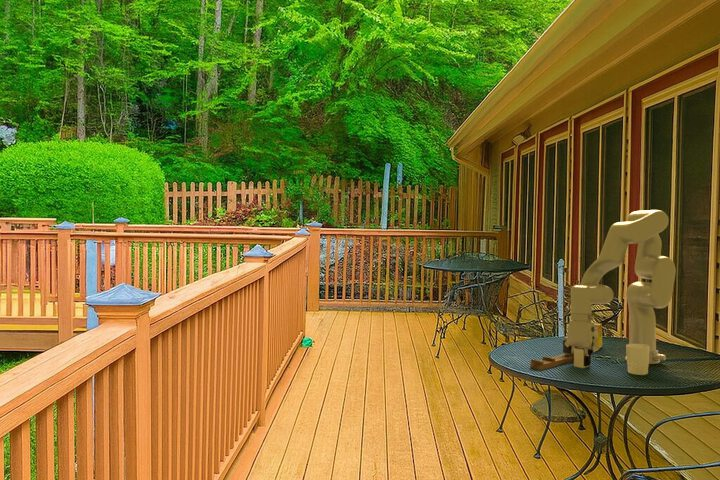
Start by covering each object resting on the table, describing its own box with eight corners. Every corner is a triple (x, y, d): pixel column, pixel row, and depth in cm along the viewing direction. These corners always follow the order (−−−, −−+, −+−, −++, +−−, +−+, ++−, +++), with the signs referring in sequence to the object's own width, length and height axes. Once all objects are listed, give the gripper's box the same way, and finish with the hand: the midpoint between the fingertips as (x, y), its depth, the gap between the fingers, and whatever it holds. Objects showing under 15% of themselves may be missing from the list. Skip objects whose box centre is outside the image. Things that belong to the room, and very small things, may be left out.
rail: (583, 358, 241) (583, 336, 241) (541, 370, 223) (541, 346, 223) (572, 356, 245) (572, 335, 245) (530, 367, 227) (530, 344, 227)
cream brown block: (590, 366, 228) (590, 348, 228) (583, 368, 225) (583, 349, 225) (581, 364, 232) (581, 346, 231) (573, 366, 228) (573, 348, 228)
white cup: (648, 376, 211) (648, 348, 211) (624, 373, 216) (624, 346, 215) (650, 371, 218) (650, 344, 218) (627, 369, 222) (627, 343, 222)
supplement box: (602, 347, 262) (602, 323, 262) (599, 350, 257) (599, 325, 257) (588, 346, 266) (588, 322, 265) (585, 348, 261) (585, 324, 260)
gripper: (606, 318, 223) (607, 367, 224) (567, 314, 237) (567, 359, 237) (596, 321, 219) (596, 370, 219) (556, 316, 232) (556, 362, 232)
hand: (581, 364), depth 228 cm, fingers closed on cream brown block, 4 cm apart
